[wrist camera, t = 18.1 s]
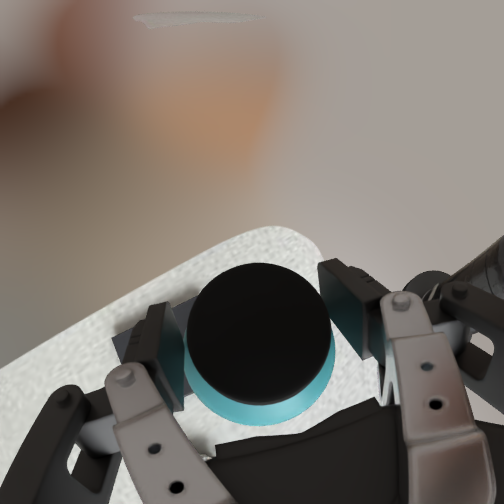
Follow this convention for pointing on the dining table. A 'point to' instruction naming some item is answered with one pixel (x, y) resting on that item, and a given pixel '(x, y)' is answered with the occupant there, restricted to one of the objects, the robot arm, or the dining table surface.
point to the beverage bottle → (258, 345)
